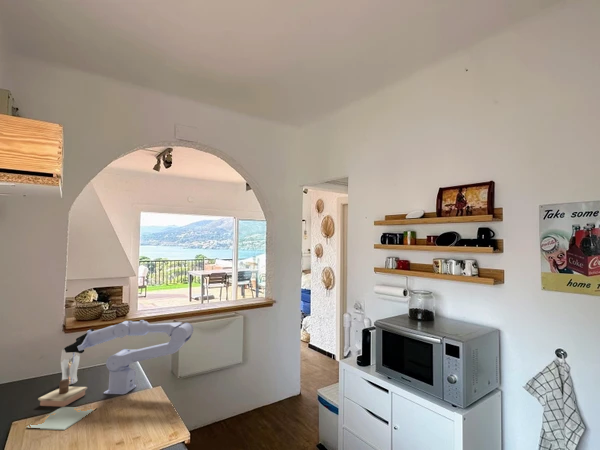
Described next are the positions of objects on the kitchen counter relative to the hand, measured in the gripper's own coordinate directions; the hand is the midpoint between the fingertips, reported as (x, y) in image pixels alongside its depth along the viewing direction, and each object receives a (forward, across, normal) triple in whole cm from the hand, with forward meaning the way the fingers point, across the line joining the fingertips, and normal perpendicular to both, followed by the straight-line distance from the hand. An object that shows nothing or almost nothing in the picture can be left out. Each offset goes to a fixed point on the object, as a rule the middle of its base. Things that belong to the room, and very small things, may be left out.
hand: (71, 345), depth 134 cm
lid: (+1, +12, +14) cm, 19 cm away
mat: (-8, +27, +16) cm, 32 cm away
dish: (+2, +12, +17) cm, 21 cm away
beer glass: (+12, -5, +18) cm, 22 cm away
